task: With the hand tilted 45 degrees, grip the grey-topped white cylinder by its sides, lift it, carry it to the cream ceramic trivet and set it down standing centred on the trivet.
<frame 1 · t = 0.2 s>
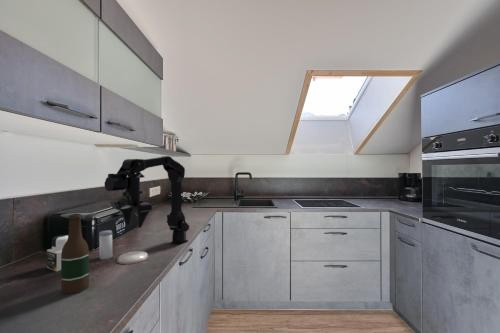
hand: (133, 226, 104), 14 cm above the countertop, tool pointing down, fingers open, 9 cm apart
medicine bottle: (62, 267, 98), on the countertop
beer bottle: (75, 289, 80), on the countertop
grey-topped white cylinder: (106, 257, 108), on the countertop
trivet: (133, 258, 106), on the countertop
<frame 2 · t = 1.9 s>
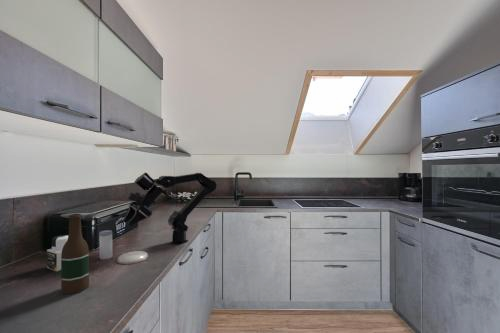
hand: (126, 223, 113), 13 cm above the countertop, tool tilted 45°, fingers open, 9 cm apart
nothing on the countertop moved.
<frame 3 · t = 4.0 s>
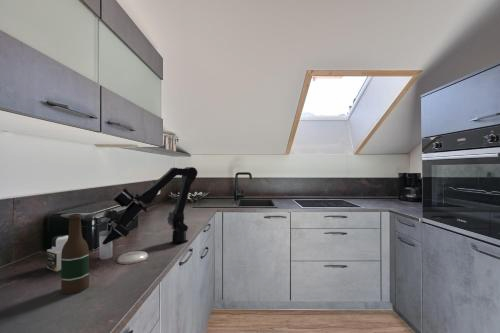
hand: (102, 242, 107), 7 cm above the countertop, tool tilted 45°, fingers closed on grey-topped white cylinder, 5 cm apart
grey-topped white cylinder: (106, 257, 108), on the countertop, touching gripper
everything else where it was.
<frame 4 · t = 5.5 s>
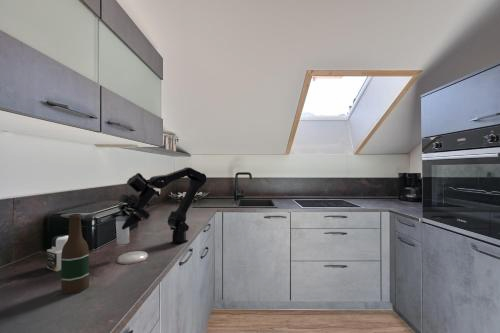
hand: (119, 228, 105), 13 cm above the countertop, tool tilted 45°, fingers closed on grey-topped white cylinder, 5 cm apart
grey-topped white cylinder: (123, 242, 106), point 7 cm above the countertop, touching gripper
everything else where it was.
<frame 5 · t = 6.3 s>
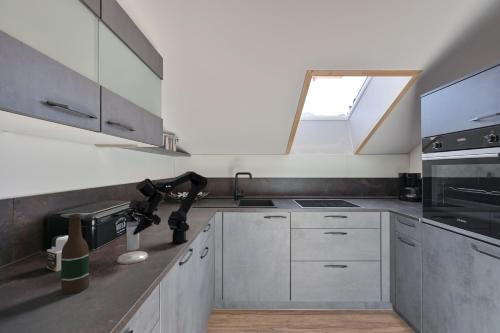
hand: (130, 233, 105), 11 cm above the countertop, tool tilted 45°, fingers closed on grey-topped white cylinder, 5 cm apart
grey-topped white cylinder: (133, 248, 106), point 4 cm above the countertop, touching gripper
everything else where it was.
when the fingers open (9 cm above the countertop, at t = 7.0 s): grey-topped white cylinder drops 1 cm, resting on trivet.
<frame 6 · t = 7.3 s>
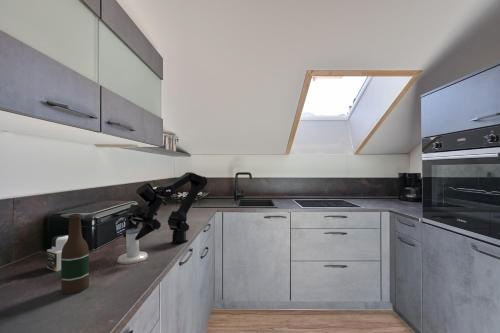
hand: (129, 238, 105), 9 cm above the countertop, tool tilted 45°, fingers open, 8 cm apart
grey-topped white cylinder: (133, 255, 106), point 1 cm above the countertop, touching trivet
everything else where it was.
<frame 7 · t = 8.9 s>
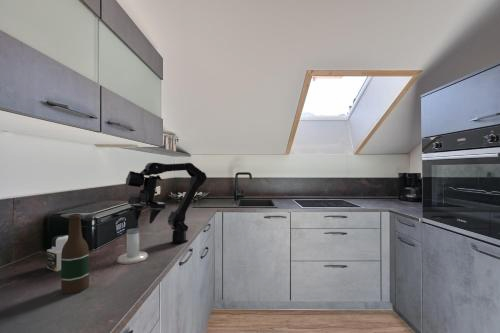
hand: (143, 221, 116), 13 cm above the countertop, tool pointing down, fingers open, 9 cm apart
nothing on the countertop moved.
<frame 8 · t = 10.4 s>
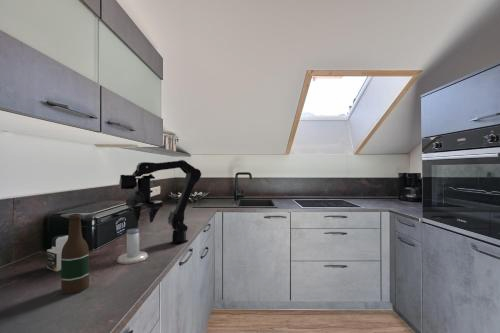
hand: (144, 221, 118), 13 cm above the countertop, tool pointing down, fingers open, 9 cm apart
nothing on the countertop moved.
at the end: grey-topped white cylinder 0.0 cm from the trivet (horizontally); grey-topped white cylinder tilted 0°; grey-topped white cylinder touching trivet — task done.
